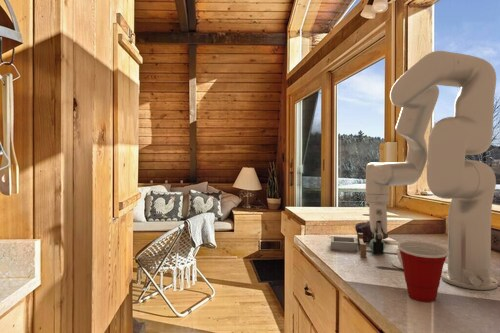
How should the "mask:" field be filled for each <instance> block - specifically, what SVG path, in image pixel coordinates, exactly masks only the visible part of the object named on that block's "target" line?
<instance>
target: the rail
mask: <svg viewBox="0 0 500 333" xmlns="http://www.w3.org/2000/svg"><path fill="white" fill-rule="evenodd" d="M364 242H365V241H363V233H358V239H357V243H358V246H357V247H358V248H359V255H360V256H359V257H360V258H361V259H367V243H366V242H365V243H364Z"/></svg>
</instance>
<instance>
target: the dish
mask: <svg viewBox="0 0 500 333" xmlns="http://www.w3.org/2000/svg"><path fill="white" fill-rule="evenodd" d="M358 247H359V246H358V239H357V236H355V237H354V236H352V237H351V236H333V235H332V236H331V237H330V251H336V252H337V251H340V252H353V253H356V252H357V253H358Z"/></svg>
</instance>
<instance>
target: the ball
mask: <svg viewBox="0 0 500 333" xmlns="http://www.w3.org/2000/svg"><path fill="white" fill-rule="evenodd" d="M373 242H374V239H372V240H371V241H370V242H369V248H370V250H371V251H372V252H373ZM383 242H384V249H385V248H386V244H385V241H384V240H383Z"/></svg>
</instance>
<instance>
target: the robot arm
mask: <svg viewBox="0 0 500 333" xmlns="http://www.w3.org/2000/svg"><path fill="white" fill-rule="evenodd" d="M438 86H443V87H455V88H460V90H459V92H458V93H457V95H456V98H455V101H454V115H453V116H447V117H444V118H443V117H442V118H441V119H439V120H438V121H437V122H436V123H435V124H434V125H433V126H432V128H431V130H430V132H429V136H428V142H427V143H426V139H425V134H426V132H427V129H428V126H429V123H430V121H431V118H432V115H433V113H434V110H435V107H436V104H437V102H438V99H439V94H440V89H439V87H438ZM496 87H497V73H496V69H495V68H494V66H493V65H492V64H491V62H489V61H488V60H486V59H483V58H481V57H478V56H474V55H470V54H464V53H458V52H453V51H452V52H451V51H448V50H445V51H444V50H434V51H431V52H429V53H427V54H425V55H424V56H423V57H422V58H420V59H419V60H418V61H417V62H416V63H414V65H412V66H411V67H409V69H408V70H406V71H405V72H404V73H403V74H402V75H400V76H399V78H398V79H397V80H396V81H395V83H393V85H392V87H391V90H390V92H389V99H390V102H391V103H392V105H393V106H395V107H398V108H401V109H400V112H399V117H398V119H397V123H396V124H395V132H396V133H397V134H398V135H399V136H401V137H403V138H404V139H405V140H406V142H407V145H408V146H407V147H408V151H407V155H406V157H405V159H404V160H405V161H396V162H394V161H393V162H369V163H367V164H366V166H365V204H368V205H369V206H368V207H369V208H368V209H369V210H368V212H369V213H368V215H369V216H368V218H369V221H370V229H371V231H372V237H371V240H372V239H374V242H373V251H372V252H373V254H374V255H384V252H385V251H384V250H385V248H384V243H385V241H384V239H383V232H384V233H385V234H387V232H388V212H387V205H389V204H390V187H394V186H395V187H396V186H408V185H409V186H410V185H413V184H415V183H416V182H418V181H419V179H420V178H421V177H422V174H423V171H424V169H425V167H426V182H427V186H428V189H429V190H430V191H431V193H432V194H433V195H434V196H436V197H437V198H440V199H445V200H448V199H449V200H450V204H449V207H448V213H447V214H448V217H447V249H448V250H449V255H448V256H447V270H444V271H443V270H442V274H441V279H442V281H444V282H446V283H447V284H450V285H453V286H455V287H459V288H464V289H470V290H477V291H478V290H479V291H480V290H481V291H486V290H488V291H490V290H493V289H497V288H498V286H499V281H498V280H497V279H496V278H495V277H493V276H491V274H492V273H491V270H492V269H491V266H492V265H491V263H492V262H491V261H492V260H491V259H492V258H491V255H492V253H491V252H492V250H491V249H492V241H491V240H492V209H493V200H494V196H495V191H496V185H497V179H496V178H497V177H496V174H495V172H494V170H493V169H492V167H490V165H488V164H487V163H485V162H482V161H479V160H474V159H473V160H471V159H466V156H476V155H480V154H483V153H485V152H486V151H488V149H490V147H491V145H492V140H493V129H494V111H495V110H494V107H495V105H494V103H495V94H496ZM383 241H384V242H383Z"/></svg>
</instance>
